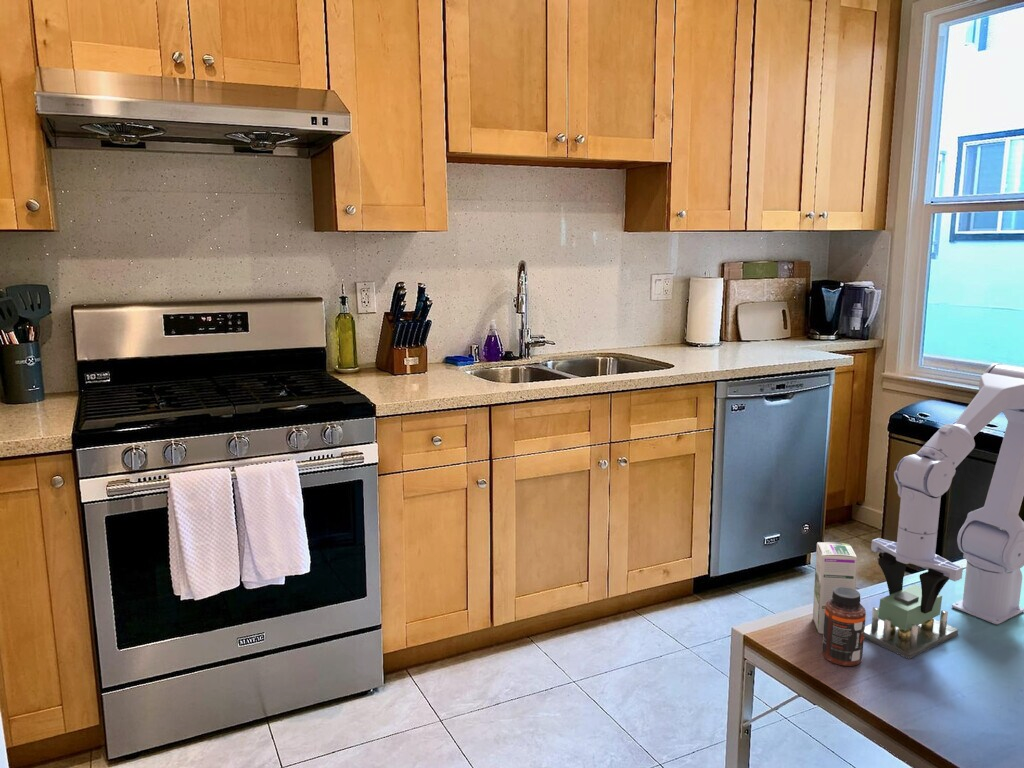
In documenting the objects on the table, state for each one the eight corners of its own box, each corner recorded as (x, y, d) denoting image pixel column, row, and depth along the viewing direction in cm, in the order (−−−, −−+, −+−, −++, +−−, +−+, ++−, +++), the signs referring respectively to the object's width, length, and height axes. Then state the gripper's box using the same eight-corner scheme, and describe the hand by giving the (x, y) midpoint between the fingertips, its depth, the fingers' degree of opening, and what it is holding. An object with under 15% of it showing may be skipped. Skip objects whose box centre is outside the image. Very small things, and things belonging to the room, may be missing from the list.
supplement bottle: (867, 668, 120) (873, 601, 118) (828, 667, 121) (833, 600, 119) (854, 648, 126) (859, 584, 124) (817, 647, 127) (821, 583, 125)
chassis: (906, 613, 138) (909, 589, 137) (957, 634, 130) (960, 610, 129) (858, 634, 131) (859, 610, 130) (908, 659, 123) (911, 633, 122)
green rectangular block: (912, 603, 134) (915, 581, 133) (939, 614, 130) (942, 592, 129) (878, 618, 129) (880, 595, 128) (905, 630, 125) (908, 607, 124)
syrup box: (853, 637, 130) (860, 556, 127) (816, 634, 131) (822, 553, 128) (846, 621, 135) (852, 542, 132) (810, 618, 136) (815, 540, 134)
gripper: (862, 519, 131) (856, 594, 133) (948, 548, 119) (939, 629, 121) (887, 511, 134) (881, 584, 137) (973, 538, 122) (964, 617, 125)
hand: (910, 604), depth 129 cm, fingers closed on green rectangular block, 5 cm apart
